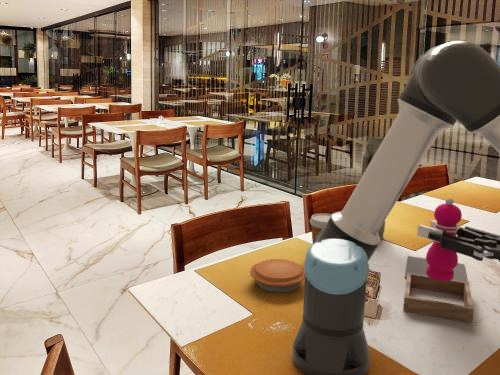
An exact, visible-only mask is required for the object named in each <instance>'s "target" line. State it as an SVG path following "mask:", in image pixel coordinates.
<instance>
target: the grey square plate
mask: <svg viewBox="0 0 500 375" xmlns="http://www.w3.org/2000/svg"><path fill="white" fill-rule="evenodd" d="M428 265H429V264H428V263H427V261H426V257H425V258H424V257H417V256H412V255H411V256H410V255H407V258H406V266H405V268H406V269H405V276H404V279H405V280H407V272H408V273H414V274H421V275H427V274H426V269H427V266H428ZM453 271H454V277H453V280H459V281H466V282H468V278H467V271H466V267H465V264H464V263H459V262H458V264H457V266H456V267H455V268H454V269H453Z"/></svg>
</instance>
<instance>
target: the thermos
mask: <svg viewBox="0 0 500 375" xmlns="http://www.w3.org/2000/svg"><path fill="white" fill-rule="evenodd" d="M384 138H385V136H371V137H369V138H368V140H367V142H366V144H365V153H364V154H363V156H362V165H361V166H362V167H361V177H360V179H361V178H362V176H363V174H364V172H365V171H366V169H367V167H368V165H369V164H370V162H371V160H372V159H373V157H374V155H375V153H376V152H377V150H378V148H379V147H380V145H381V143H382V141H383V140H384ZM385 227H386V220H385V221H384V223H383V224H382V226H381V228H380V229H379V231H378V234H379V238H380V242H382V241H383V240H384V234H385V233H384V232H385V230H386V229H385Z"/></svg>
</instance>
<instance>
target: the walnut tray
mask: <svg viewBox="0 0 500 375" xmlns="http://www.w3.org/2000/svg"><path fill="white" fill-rule="evenodd" d="M405 280H406V282H405V291H404V297H403V298H404V299H403V309H402V310H403V311H404V312H410V313H415V314H419V313H420V314H419V315H425V316H431V317H436V318H441V319H446V318H447V320H452V319H453V321H457V320H458V322H463V323H469V324H472V323H473V316H474V312H475V310H474V309H475V308H474V303H473V298H472V292H471V286H470V283H469V281H467V282H466V281H459V280H453V279H452V280H450V281H438V280H434V279H432V278H430V277H428V276H427V275H421V274H414V273H408V272H407V279H405ZM411 287H412V288H416V289H422V288H423V290H429V291H435V292H442V293H447V294H454V295H460V296H462V298H463V305H461V304H457V303H450V302H444V301H438V300H433V299H432V300H431V299H428V298H421V297H417V296H416V297H414V296H410V292H411V291H410V288H411Z"/></svg>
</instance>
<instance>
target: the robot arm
mask: <svg viewBox="0 0 500 375" xmlns="http://www.w3.org/2000/svg"><path fill="white" fill-rule="evenodd" d="M397 103H398V106H399V112H398V114H397V115H396V118H395V119H394V121H393V122H392V124H391V126H390V128H389V129H388V131H387V133H386V135H385V136H384V137H385V138H384V140H383V141H382V143H381V145H380V147H379V148H378V150H377V152H376V153H375V155H374V157H373V159H372V160H371V162H370V164H369V165H368V167H367V169H366V171H365V172H364V174H363V176H362V175H361V177H362V178H361V177H360V180H359V181H358V183H357V184H356V186H355V188H354V190H353V191H352V194H351V195H350V197H349V198H348V201H347V202H346V204H345V205H344V207H343V209H342V210H340V211H336V212H333V213H332V215H331V217H330V219H329V220H328V222H327V224H326V226H325V227H324V229H322V230H321V232H320V233H319V234H318V235H317V237H316V239H315V241H314V244H313V243H312V245H311V246H309V247H308V249H307V251H306V254H305V257H304V262H303V267H304V270H305V279H304V285H303V286H304V288H303V304H302V305H303V307H302V321H301V324H300V327H299V329H298V331H297V332H296V336H295V339H294V341H293V345H292V361H293V362H294V365H295V367H296V368H297V369H298V370H299V371H300V372H301V373H302V374H304V375H305V374H306V375H366V374H367V373H368V371H369V370H370V369H369V368H370V362H371V351H370V348H369V345H368V341H367V337H366V334H365V330H364V320H365V308H366V297H367V296H366V294H367V281H368V276H369V272H370V268H369V266H370V264H369V261H370V259H371V258H372V256H373V254H374V253H375V251H376V250H377V248H378V247H379V245H380V243H381V241H380V238H379V234H378V231H379V229H380V228H381V226H382V224H383V223H384V221H385V222H386V219H387V218H388V216H389V215H390V213H391V211H392V209H394V206H395V205H396V204H397V202H398V200H399V199H400V197H401V195H402V194H403V192H404V190H405V188H406V187H407V186H408V184H409V182H410V181H411V179H412V178H413V176H414V174H416V171H417V170H418V168H419V167H420V164H421V163H422V162H423V159H424V158H425V157H426V155H427V154H428V152H429V151H430V149H431V148H432V145H433V143H434V142H435V141H436V139H437V138H438V135H439V134H440V132H442V131H444V130H446V129H447V130H448V129H450V128H453V127H454V126H455V124H456V123H457V122H459V123H460V124H461V125H462V126H463V128H465V129H466V130H467V131H468V132H469V133H470V134H480V135H481V137H483V138H484V140H485V141H487V143H488V144H490V145H491V147H492V148H493V149H495V151H496V152H498V154H499V155H500V64H499V63H498V62H497V61H496V60H495V59H494V57H492V55H490V53H489V52H487V51H486V50H485V49H484V48H483V47H481V46H480V45H477V44H476V43H473V42H471V41H466V40H454V41H449V42H446V43H443V44H439V45H436V46H434V47H432V48H430V49H428V50H427V51H425V52H424V53H423V54H421V55H420V56H419V58H418V59H417V60H416V62H415V63H414V65H413V67H412V70H411V73H410V77H409V79H408V80H407V82H406V84H405V86H404V87H403V90H402V91H401V93H400V95H399V96H398V98H397ZM436 222H437V220H433V219H431V220H430V224H429V225H430V226H427V225H423V224H418V226H417V234H416V236H418V237H421V238H424V239H428V240H430V241H433V242H434V241H436V242H439V243H440V247H441V248H444V249H448V250H451V251H454V252H456V253H457V254H461V255H463V256H466V257H470V258H472V259H474V260H476V261H479V262H482V261H483V260H484V258H485V259H489V260H496V261H498V262H499V263H500V234H495V233H492V232H489V231H485V230H481V229H478V228H475V227H474V228H473V227H470V226H466V225H465V226H464V227H462V226H460V227H459V226H458V227H457V232H455V234H454V235H449V234H446V231H440V230H437V229H435V223H436Z"/></svg>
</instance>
